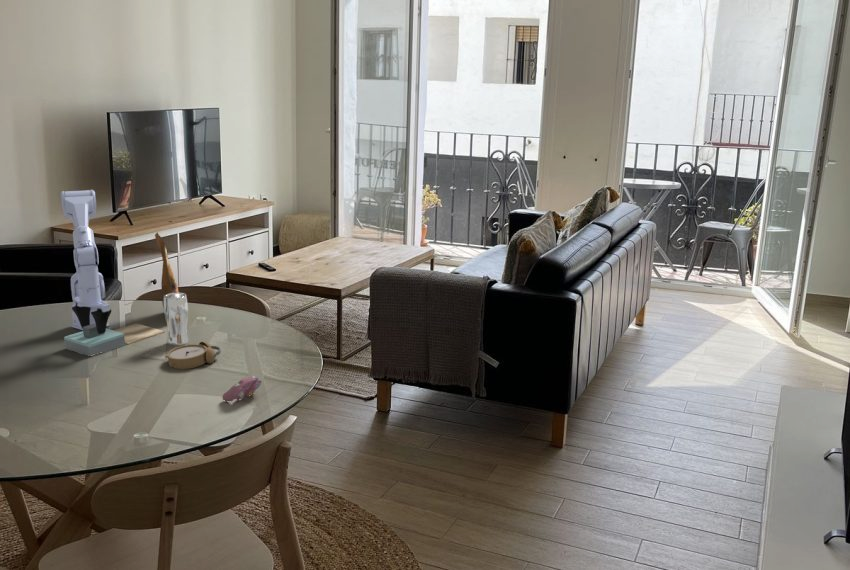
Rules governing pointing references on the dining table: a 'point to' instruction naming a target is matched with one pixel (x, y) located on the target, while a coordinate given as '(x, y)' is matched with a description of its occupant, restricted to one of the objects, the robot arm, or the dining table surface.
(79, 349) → the grey square slab
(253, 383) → the video game controller
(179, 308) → the beer glass
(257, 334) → the dining table surface
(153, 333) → the cork pad
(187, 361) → the alarm clock
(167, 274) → the pancake mix bag
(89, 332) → the lid
